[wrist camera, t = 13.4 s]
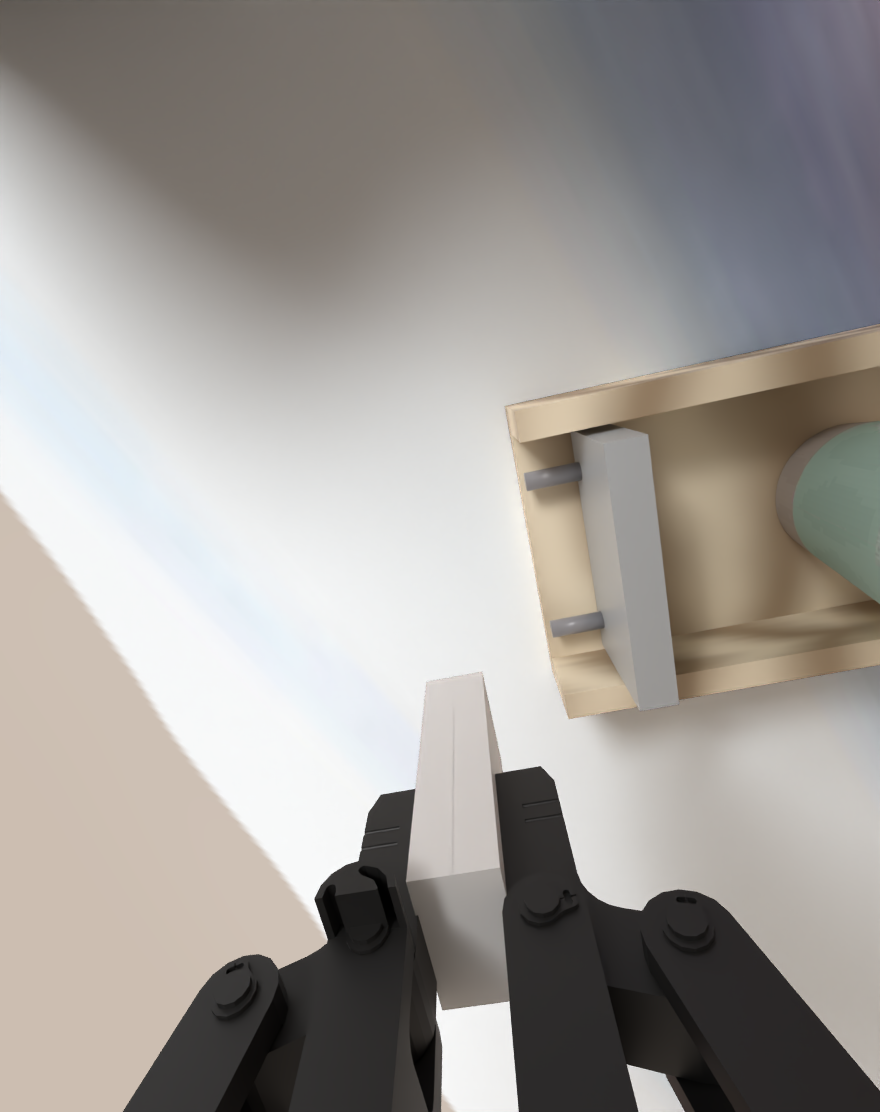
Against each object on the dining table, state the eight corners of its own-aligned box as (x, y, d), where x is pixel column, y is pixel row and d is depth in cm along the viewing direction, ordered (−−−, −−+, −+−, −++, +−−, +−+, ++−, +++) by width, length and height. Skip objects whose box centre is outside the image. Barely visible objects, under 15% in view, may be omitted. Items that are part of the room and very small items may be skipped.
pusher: (554, 653, 29) (579, 721, 23) (516, 441, 26) (534, 458, 20) (633, 638, 28) (679, 704, 23) (604, 422, 26) (648, 434, 20)
